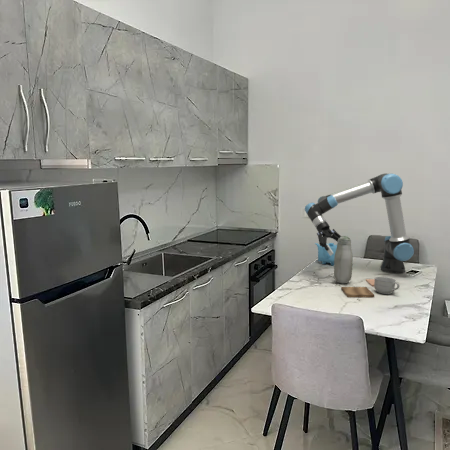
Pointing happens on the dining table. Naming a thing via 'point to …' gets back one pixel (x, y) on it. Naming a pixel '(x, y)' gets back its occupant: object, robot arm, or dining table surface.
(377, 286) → the teacup
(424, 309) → the dining table surface
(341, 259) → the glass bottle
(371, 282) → the terracotta tile
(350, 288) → the walnut board
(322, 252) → the teakettle
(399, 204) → the robot arm
